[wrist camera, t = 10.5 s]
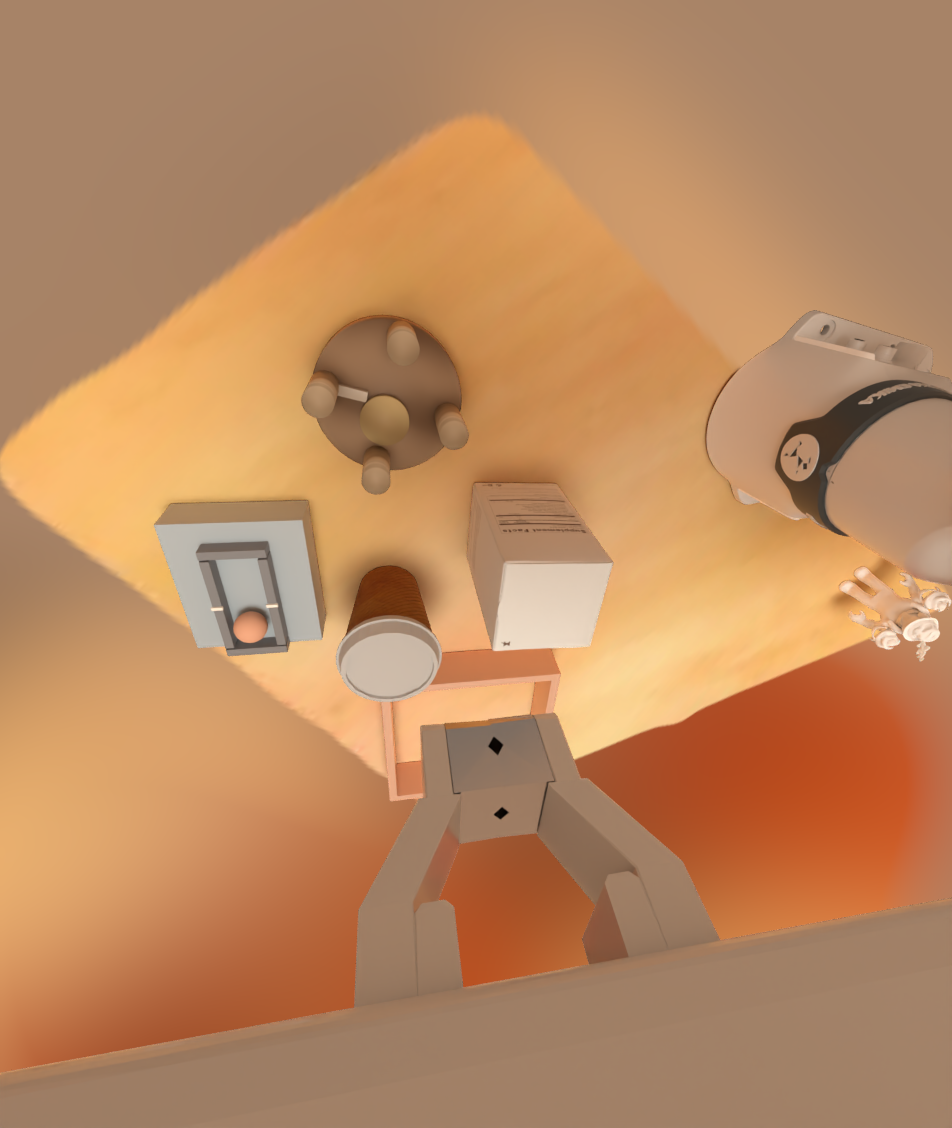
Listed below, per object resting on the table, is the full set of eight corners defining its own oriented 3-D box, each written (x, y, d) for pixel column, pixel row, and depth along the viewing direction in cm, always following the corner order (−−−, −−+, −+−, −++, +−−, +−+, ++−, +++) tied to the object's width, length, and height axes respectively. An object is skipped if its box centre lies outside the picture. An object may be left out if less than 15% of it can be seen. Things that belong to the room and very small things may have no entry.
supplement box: (545, 557, 54) (592, 650, 42) (465, 557, 53) (490, 655, 41) (560, 481, 50) (618, 562, 37) (472, 479, 48) (503, 563, 36)
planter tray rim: (549, 644, 62) (560, 673, 58) (530, 753, 74) (539, 783, 70) (380, 657, 59) (380, 689, 55) (389, 768, 71) (390, 801, 67)
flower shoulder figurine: (833, 608, 67) (911, 673, 57) (818, 598, 65) (896, 663, 55) (892, 560, 63) (986, 619, 53) (877, 547, 62) (972, 607, 52)
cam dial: (324, 292, 37) (312, 303, 31) (475, 339, 41) (492, 357, 35) (305, 443, 43) (292, 478, 37) (439, 473, 47) (447, 508, 41)
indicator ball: (267, 604, 47) (261, 624, 45) (273, 627, 49) (267, 648, 47) (234, 605, 47) (226, 626, 44) (241, 629, 49) (233, 650, 46)
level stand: (307, 500, 46) (299, 529, 42) (325, 615, 54) (320, 650, 49) (170, 503, 45) (145, 535, 40) (209, 622, 52) (192, 660, 48)
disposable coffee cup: (381, 536, 50) (380, 610, 40) (450, 583, 54) (464, 660, 44) (325, 596, 53) (312, 678, 43) (395, 635, 57) (397, 718, 47)
